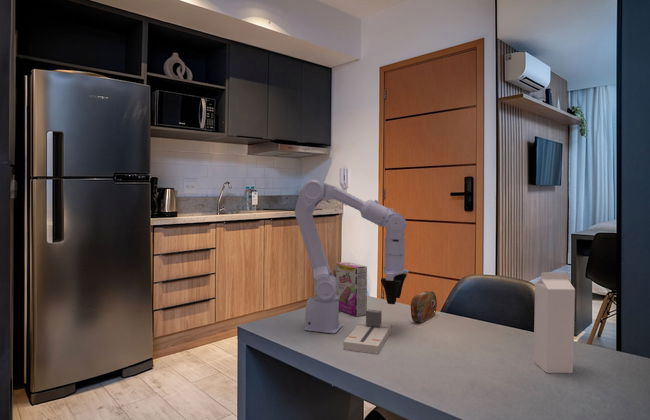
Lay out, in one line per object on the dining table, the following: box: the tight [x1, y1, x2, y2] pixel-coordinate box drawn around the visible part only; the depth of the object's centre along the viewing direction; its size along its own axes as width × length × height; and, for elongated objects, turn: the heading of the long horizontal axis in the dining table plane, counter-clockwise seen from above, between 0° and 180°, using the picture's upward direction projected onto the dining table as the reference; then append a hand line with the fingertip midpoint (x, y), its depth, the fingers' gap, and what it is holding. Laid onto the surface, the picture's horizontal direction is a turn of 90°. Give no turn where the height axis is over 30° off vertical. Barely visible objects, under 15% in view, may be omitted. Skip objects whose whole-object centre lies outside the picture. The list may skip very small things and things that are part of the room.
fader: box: [365, 309, 383, 327], centre depth 117 cm, size 4×2×4 cm, turn 70°
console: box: [342, 321, 392, 355], centre depth 111 cm, size 9×18×2 cm, turn 160°
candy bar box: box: [335, 261, 368, 318], centre depth 138 cm, size 11×5×16 cm, turn 37°
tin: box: [410, 290, 438, 324], centre depth 131 cm, size 15×3×8 cm, turn 142°
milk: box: [533, 271, 576, 374], centre depth 94 cm, size 6×6×22 cm
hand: (393, 300), depth 119 cm, fingers open, 7 cm apart
